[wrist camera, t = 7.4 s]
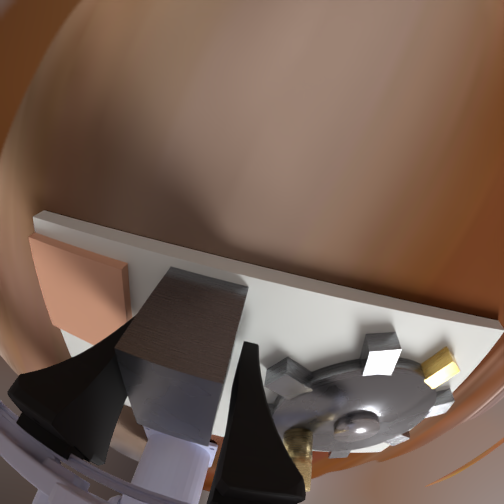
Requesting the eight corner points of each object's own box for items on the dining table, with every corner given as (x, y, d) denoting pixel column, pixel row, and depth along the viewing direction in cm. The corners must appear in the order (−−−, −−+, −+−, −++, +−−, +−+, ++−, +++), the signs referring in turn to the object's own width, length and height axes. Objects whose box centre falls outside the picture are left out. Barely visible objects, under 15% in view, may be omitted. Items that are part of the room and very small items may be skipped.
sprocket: (293, 453, 20) (288, 505, 15) (207, 372, 15) (181, 455, 10) (445, 415, 16) (457, 469, 11) (456, 297, 10) (505, 385, 6)
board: (379, 443, 20) (380, 456, 19) (89, 378, 21) (81, 389, 20) (498, 320, 12) (508, 336, 10) (43, 210, 13) (25, 220, 11)
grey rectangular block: (228, 369, 15) (208, 446, 10) (170, 352, 15) (137, 423, 10) (248, 286, 12) (222, 384, 7) (170, 266, 12) (114, 347, 7)
